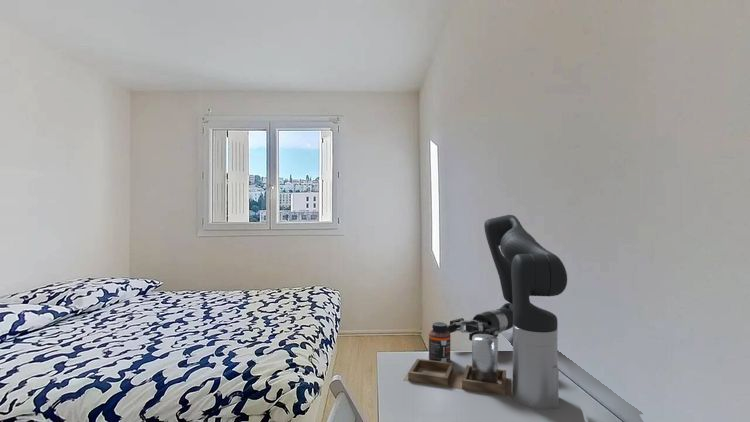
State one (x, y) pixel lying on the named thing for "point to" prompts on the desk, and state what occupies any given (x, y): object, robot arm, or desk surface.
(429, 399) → the desk surface
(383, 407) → the desk surface
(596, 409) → the desk surface
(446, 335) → the supplement bottle
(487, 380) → the seated can
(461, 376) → the wooden double tray
